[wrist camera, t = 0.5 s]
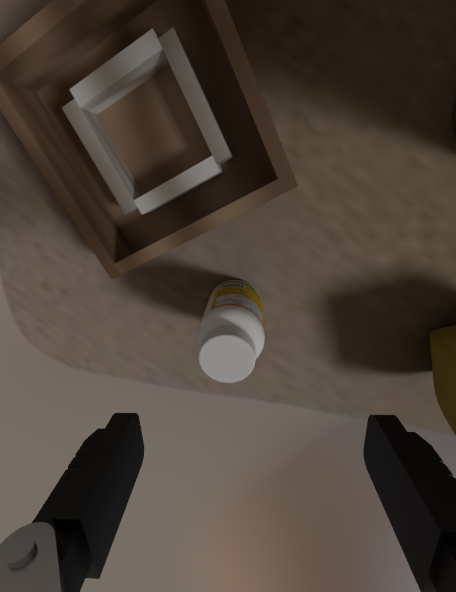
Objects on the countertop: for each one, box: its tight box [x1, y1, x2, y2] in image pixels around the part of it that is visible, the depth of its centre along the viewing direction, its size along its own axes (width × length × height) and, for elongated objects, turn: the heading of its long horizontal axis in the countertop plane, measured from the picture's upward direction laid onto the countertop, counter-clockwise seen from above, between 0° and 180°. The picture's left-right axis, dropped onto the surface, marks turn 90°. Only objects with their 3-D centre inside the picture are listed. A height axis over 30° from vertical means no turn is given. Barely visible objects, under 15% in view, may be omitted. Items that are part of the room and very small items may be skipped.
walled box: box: [0, 0, 298, 279], centre depth 22 cm, size 16×16×5 cm
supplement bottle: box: [197, 280, 265, 383], centre depth 25 cm, size 5×5×10 cm
